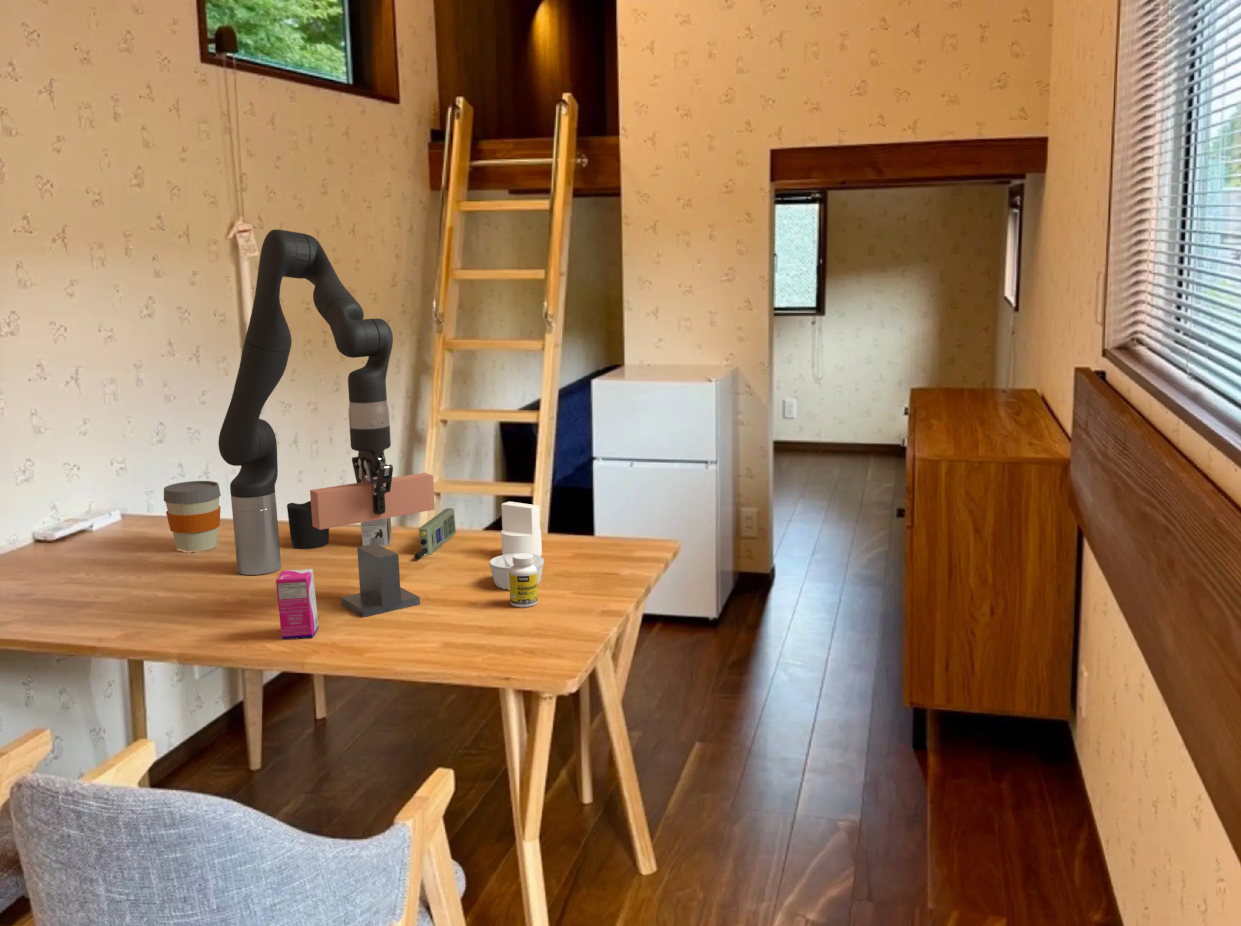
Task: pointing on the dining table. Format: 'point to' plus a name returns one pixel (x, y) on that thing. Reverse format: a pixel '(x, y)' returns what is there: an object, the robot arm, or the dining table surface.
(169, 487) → the reusable coffee cup
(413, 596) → the stand
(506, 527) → the cylinder with rectangular tab
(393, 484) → the batten
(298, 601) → the supplement box
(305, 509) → the pen holder
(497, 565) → the ramekin
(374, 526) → the coffee box
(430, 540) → the handheld radio
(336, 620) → the dining table surface
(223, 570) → the dining table surface
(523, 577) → the supplement bottle
